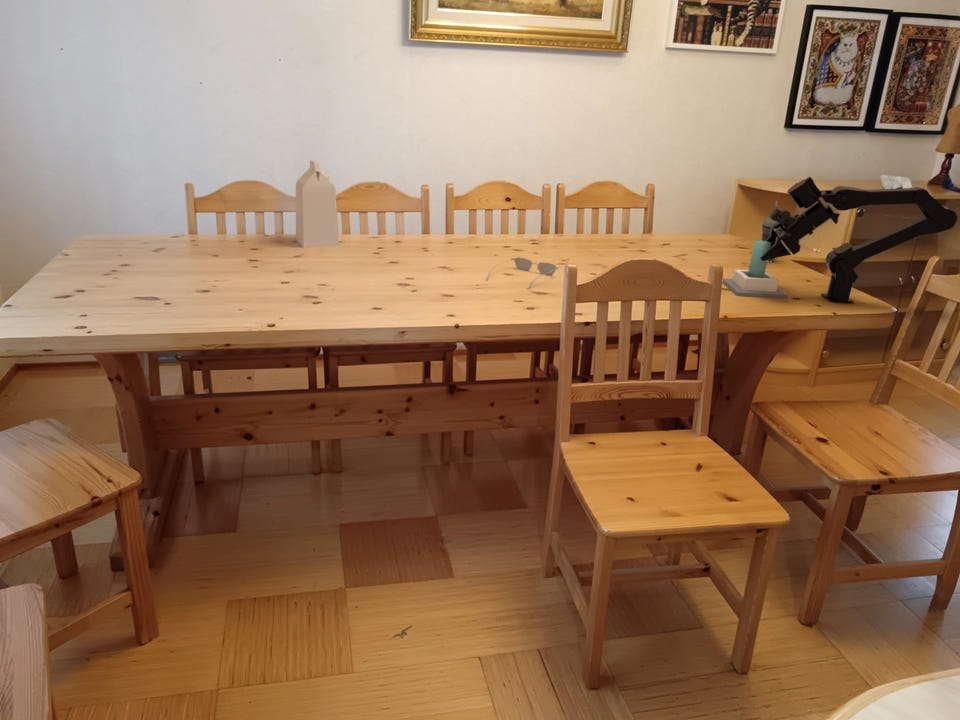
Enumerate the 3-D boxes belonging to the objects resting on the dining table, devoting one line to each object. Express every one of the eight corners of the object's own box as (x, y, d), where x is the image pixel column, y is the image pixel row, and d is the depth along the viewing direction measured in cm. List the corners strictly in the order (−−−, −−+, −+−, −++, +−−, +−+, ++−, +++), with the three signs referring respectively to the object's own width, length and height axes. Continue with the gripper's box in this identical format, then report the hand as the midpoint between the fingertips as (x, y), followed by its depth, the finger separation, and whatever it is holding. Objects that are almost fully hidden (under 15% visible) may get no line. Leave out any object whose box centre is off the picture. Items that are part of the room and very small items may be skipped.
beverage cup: (764, 263, 237) (776, 203, 229) (750, 257, 243) (762, 199, 236) (782, 263, 239) (795, 203, 231) (769, 257, 245) (781, 199, 237)
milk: (296, 239, 237) (291, 158, 227) (330, 237, 241) (327, 158, 231) (303, 247, 227) (299, 163, 217) (339, 245, 231) (337, 163, 221)
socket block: (786, 298, 201) (789, 282, 199) (737, 295, 201) (740, 280, 199) (767, 283, 214) (770, 269, 212) (721, 281, 214) (724, 267, 212)
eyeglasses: (558, 278, 210) (559, 264, 209) (530, 292, 196) (531, 278, 194) (512, 268, 217) (513, 255, 216) (482, 281, 203) (482, 268, 201)
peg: (764, 286, 207) (773, 242, 202) (758, 289, 204) (767, 245, 199) (749, 283, 210) (758, 239, 205) (743, 285, 207) (751, 241, 202)
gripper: (787, 193, 204) (739, 227, 211) (796, 204, 188) (745, 241, 194) (810, 223, 206) (762, 256, 212) (821, 236, 189) (769, 272, 195)
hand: (759, 255), depth 203 cm, fingers open, 9 cm apart
